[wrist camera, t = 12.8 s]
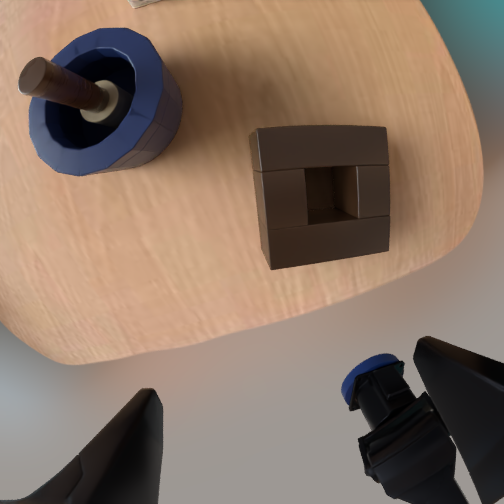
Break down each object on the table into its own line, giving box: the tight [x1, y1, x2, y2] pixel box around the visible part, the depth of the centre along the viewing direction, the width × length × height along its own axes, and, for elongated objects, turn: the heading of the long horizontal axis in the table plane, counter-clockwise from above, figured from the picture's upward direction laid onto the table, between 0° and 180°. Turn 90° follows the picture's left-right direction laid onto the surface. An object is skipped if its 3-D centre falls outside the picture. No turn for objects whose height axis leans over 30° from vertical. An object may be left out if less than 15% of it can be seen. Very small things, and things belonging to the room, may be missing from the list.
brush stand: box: [249, 125, 390, 270], centre depth 17 cm, size 8×8×4 cm
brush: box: [18, 57, 134, 129], centre depth 10 cm, size 2×2×10 cm
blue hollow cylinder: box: [29, 28, 183, 176], centre depth 12 cm, size 8×8×6 cm
